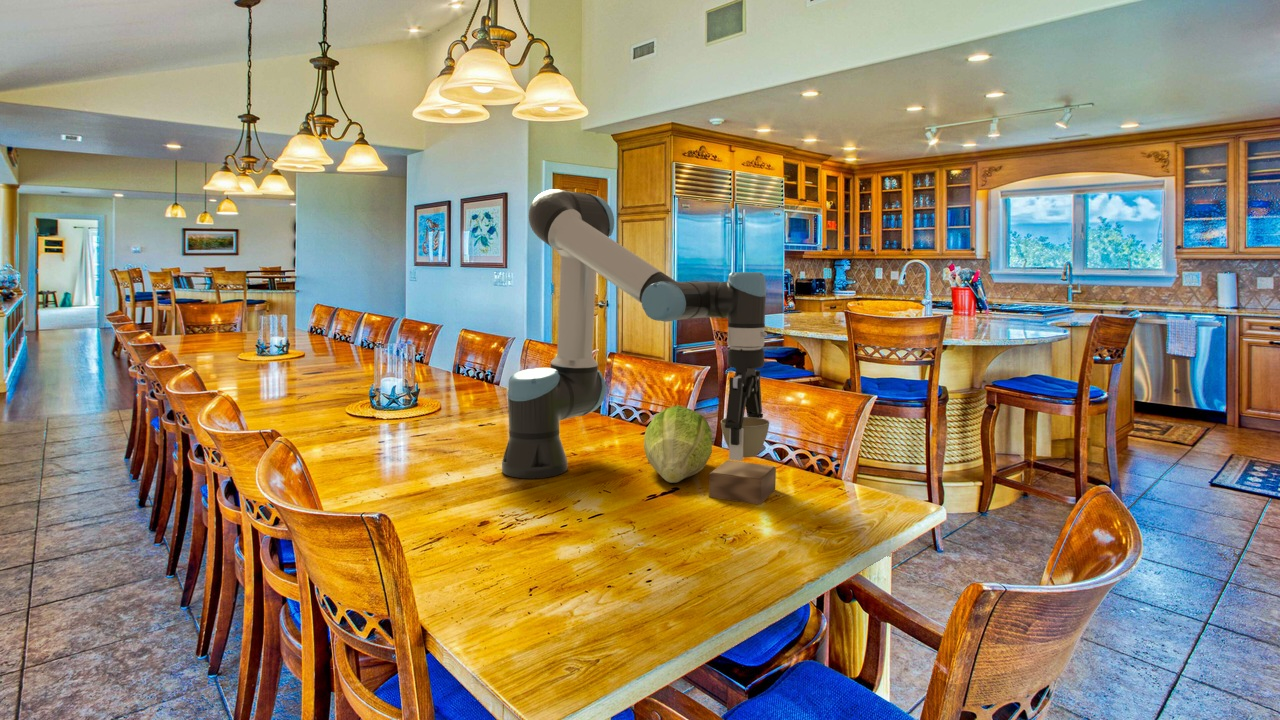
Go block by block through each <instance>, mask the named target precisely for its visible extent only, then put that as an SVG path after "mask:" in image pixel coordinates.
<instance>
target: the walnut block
mask: <svg viewBox="0 0 1280 720" xmlns="http://www.w3.org/2000/svg"><path fill="white" fill-rule="evenodd" d="M776 473H777V466H774V465H768V464H760V463H759V464H758V463H751V462H744V461H738V460H730V459H728V460H725V462H723V463H722V464H720V465H719V466H717V467H716V468H715V469H713V470H712V471H710V472H709V478H708V479H709V485H708V488H709V489H708V497H709V498H714V499H720V500H726V501H727V500H728V501H732V502H742V503H746V504H754V505H763V503H764V502H765V501H766V500H767V499H768V498H769V497H770V496H771V494H773V493H774V492H775V491H776V483H777V482H776V478H777V477H776V476H777V474H776Z"/></svg>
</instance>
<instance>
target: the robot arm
mask: <svg viewBox="0 0 1280 720" xmlns="http://www.w3.org/2000/svg"><path fill="white" fill-rule="evenodd" d="M528 222H529V226H530V228H531V229H532V232H533V233H534V234H535V235H536V237H537V238H538V239H540V240H541V241H542V242H544V243H545V244H547V246H549V247H551V248H552V249H554V250H555V251H556V252H557V254H558V255H559V256H560V271H559V272H560V274H559V296H558V297H559V299H558V301H559V302H558V323H557V324H558V326H557V328H558V329H557V348H556V349H557V351H556V352H557V353H556V355H555V357H554V358H553V359H552V360H550V367H535V368H528V369H523V370H520V371H517V372H515V373H513V374H512V375H511V376H510V377H509V379H508V386H507V392H506V393H507V394H506V395H507V405H508V441H507V445H506V448H505V451H504V454H503V457H502V461H501V472H502V474H504V475H506V476H508V477H511V478H516V479H531V480H532V479H533V480H534V479H545V478H551V477H552V478H553V477H555V476H559V475H562V474H565V473H566V471H568V458H567V455H566V452H565V450H564V446H563V444H562V440H561V437H560V436H561V435H560V422H561V421H563V420H567V419H573V418H574V417H582V416H586V415H588V414H590V413H592V412H594V411H596V410H598V409H599V407H600V406H602V403H603V402H604V400H605V397H606V394H607V385H606V379H605V377H603V374H602V372H601V371H600V370H599V363H598V362H597V361H596V359H595V358H594V357H593V349H594V348H593V347H594V344H593V343H594V326H595V325H594V324H595V322H594V321H595V305H596V303H595V302H596V301H595V300H596V299H595V298H596V281H597V280H596V278H597V274H598V275H600V276H601V277H603V279H605V280H607V281H608V282H610V283H611V284H612V285H614V286H615V287H617V288H619V289H620V290H622V291H623V292H624V293H626V294H627V295H629V296H630V297H632V298H633V299H635V300H636V301H638V302H639V303H640V304H641V307H642V309H643V311H644V314H646V316H647V317H648V318H649V319H651V320H653V321H658V322H666V323H668V322H674V321H680V320H690V319H700V318H701V319H702V318H712V319H713V318H715V319H716V318H719V319H727V341H726V342H727V343H726V345H727V346H728V347H729V348H728V349H727V353H726V354H727V357H726V360H727V362H726V363H727V366H728V367H729V368H734V369H735V373H734V376H733V377H729V379H728V380H729V391H728V399H727V408H726V424H725V428H730V433H729V448H728V451H729V452H728V460H729V461H737V462H743V460H744V457H743V435H744V428H742V423H743V418H744V417H745V413H746V417H755V418H762V419H764V418H763V417H764V413H762V412H763V404H762V392H761V391H762V390H761V389H762V387H761V370H760V369H761V368H763V367H764V366H765V350H764V348H763V347H764V346H765V338H766V337H767V336H768V333H767V332H766V331H765V330H766V329H765V327H766V323H765V322H766V300H767V291H766V289H767V288H766V277H765V275H764V273H763V272H757V271H756V272H755V271H754V272H753V271H752V272H751V271H749V272H748V271H747V272H746V271H744V272H730V273H729V274H728V279H727V281H699V280H690V281H677V280H675V279H673V278H672V277H670V276H669V275H667V274H665V273H664V272H663V271H661V270H659V269H658V268H656V267H655V266H653V265H652V264H650V263H649V262H647V261H646V260H644V259H643V258H641V257H640V256H638V255H636V254H635V253H634V252H632V251H630V250H629V249H627V248H626V247H625V246H622V244H620V243H618V242H617V241H615V240H614V239H612V238H611V237H612V235H613V232H614V230H615V217H614V213H613V210H612V208H611V206H610V205H609V204H608V202H607V201H606V200H605V199H603V198H602V197H600V196H597V195H594V194H592V193H586V192H577V191H569V190H563V189H557V188H556V189H554V188H553V189H548V190H545V191H543V192H541V193H539V194H538V195H537V196H536V197H535V198H534V199H533V200H532V202H531V205H530V206H529V210H528Z"/></svg>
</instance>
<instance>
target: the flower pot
mask: <svg viewBox="0 0 1280 720" xmlns="http://www.w3.org/2000/svg"><path fill="white" fill-rule="evenodd" d="M725 424H726V418H722V419H721V420H720V426H721V431H722V432H721V433H722V435H723V439H724V441H725V444H726V445H727V448H728V449H729V433H730V428H725ZM742 428H744V435H743V459H744V458H745V459H747V458H754V457H756V456H757V455H758V454H759V453H760V451H761V449H762V448H763V446H764V443H765V442H766V438H767V436H768V432H769V428H770V421H769V420H768V419H765V418H755V417H747V416H744V418H743V423H742Z"/></svg>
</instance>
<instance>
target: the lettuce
mask: <svg viewBox="0 0 1280 720" xmlns="http://www.w3.org/2000/svg"><path fill="white" fill-rule="evenodd" d="M643 440H644V441H643V449H644V453H645V456H646V458H647V462H648V463H649V464H650V466H651V467H652V468H653V469H654V470H655V472H656V473H657V474H659V475H660V477H661V478H662V479H664V481H666V482H668V483H669V484H670V483H671V484H672V483H679V482H681V481H682V480H684V479H687V478H690V477H692V476H694V475H696V474H698V473H700V472H701V471H702V470H703V469H704V468H705V466H706V465H707V463H708V461H709V460H710V457H711V456H712V453H713V446H712V429H711V426H710V425H709V422H708V420H707V419H706V418H705V417H704V416H702V414H701V413H699V412H696V411H694V410H692V409H690V408H688V407H685V406H682V405H679V404H678V405H673V406H671V407H669V406H668V407H667V408H665V409H663V410H660V411H659V412H658V413H657V414H655V415H654V417H653V418H652V420H650V423H649V424H648V426H647V427H646V429H645V433H644V439H643Z"/></svg>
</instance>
